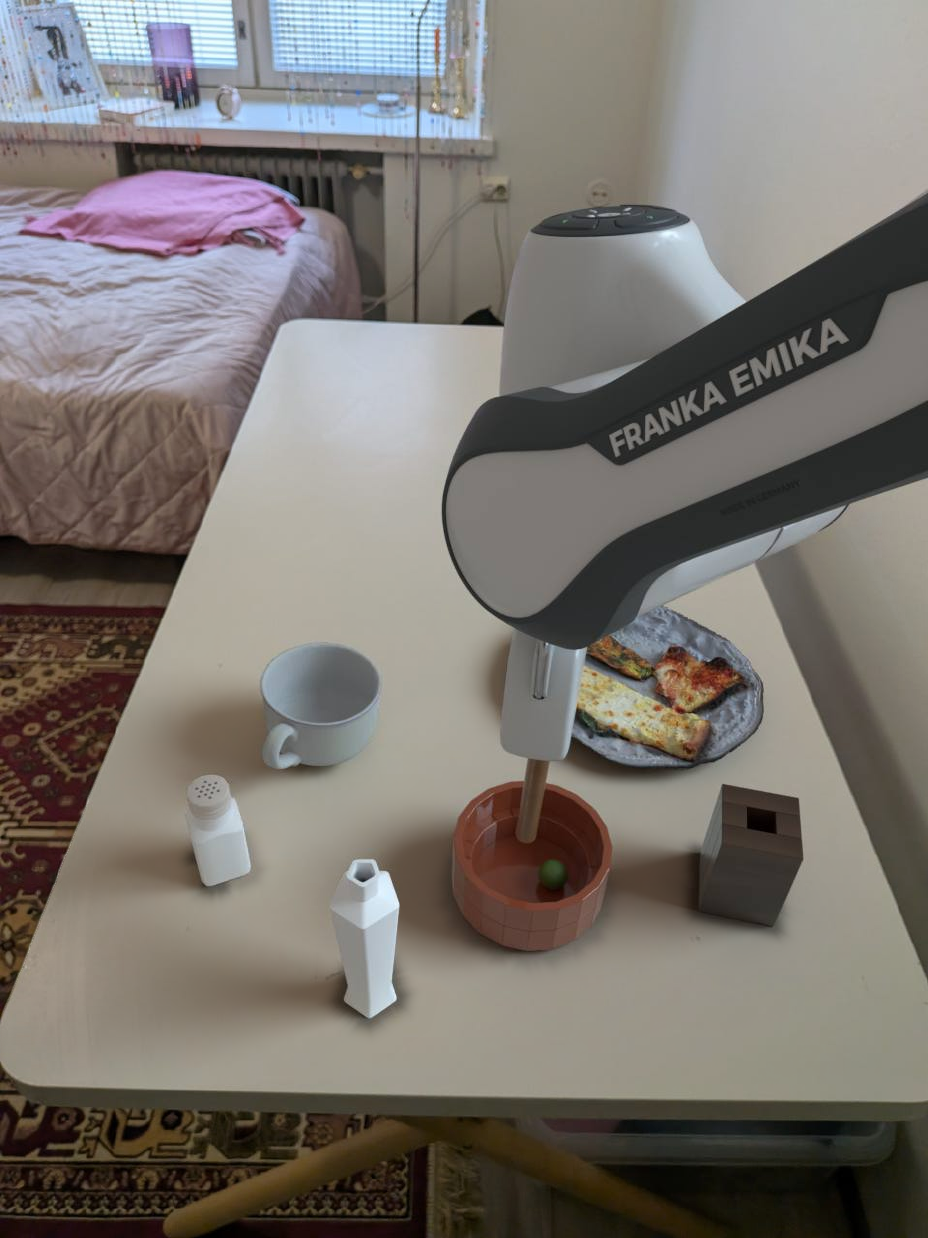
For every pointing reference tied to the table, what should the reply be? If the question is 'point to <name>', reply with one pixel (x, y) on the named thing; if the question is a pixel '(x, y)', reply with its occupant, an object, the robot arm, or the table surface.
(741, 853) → the utensil block
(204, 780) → the salt shaker
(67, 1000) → the table surface
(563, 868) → the bead
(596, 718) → the food plate
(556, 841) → the bowl
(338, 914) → the white faceted bottle
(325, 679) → the teacup
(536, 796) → the stirring stick
